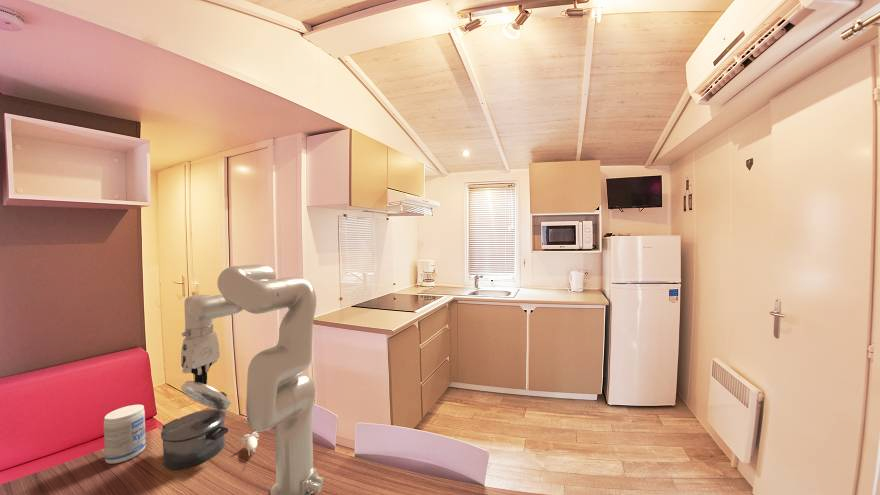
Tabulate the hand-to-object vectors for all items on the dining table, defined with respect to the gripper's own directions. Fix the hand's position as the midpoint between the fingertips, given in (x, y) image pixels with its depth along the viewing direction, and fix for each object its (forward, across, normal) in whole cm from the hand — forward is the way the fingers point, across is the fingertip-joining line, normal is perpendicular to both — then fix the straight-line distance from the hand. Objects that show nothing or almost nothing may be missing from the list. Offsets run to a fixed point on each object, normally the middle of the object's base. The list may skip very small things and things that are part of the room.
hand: (201, 384), depth 104 cm
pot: (+22, -2, 0) cm, 22 cm away
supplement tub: (+22, -9, +22) cm, 33 cm away
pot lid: (+5, +1, 0) cm, 5 cm away
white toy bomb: (+22, +2, -19) cm, 29 cm away
